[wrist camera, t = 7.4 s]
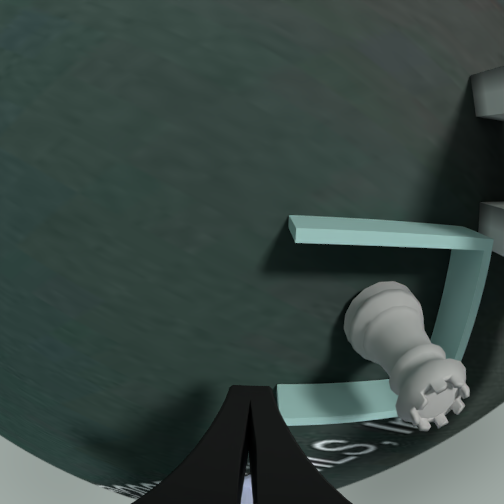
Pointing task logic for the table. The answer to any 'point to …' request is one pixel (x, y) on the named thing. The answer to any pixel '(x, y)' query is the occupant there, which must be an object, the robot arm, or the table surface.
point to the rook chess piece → (406, 354)
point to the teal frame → (446, 326)
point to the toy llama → (498, 108)
